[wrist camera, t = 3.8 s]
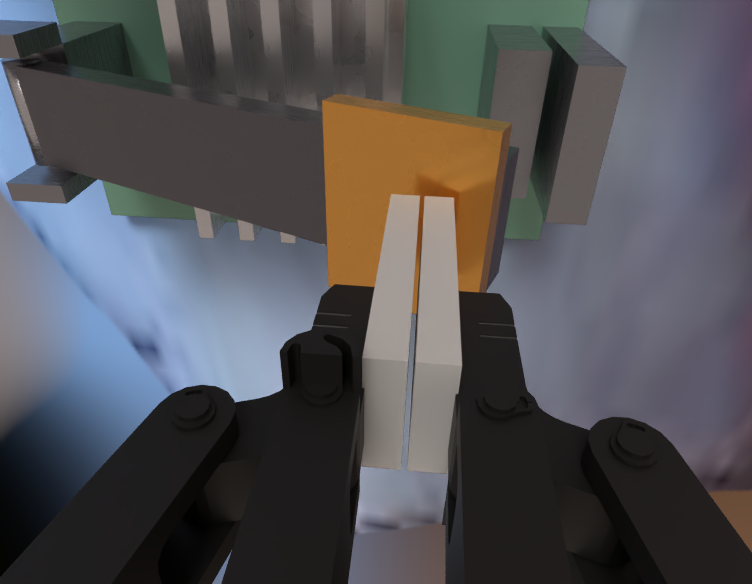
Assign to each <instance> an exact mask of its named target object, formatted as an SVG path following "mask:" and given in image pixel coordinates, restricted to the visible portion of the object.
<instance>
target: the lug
mask: <svg viewBox="0 0 752 584" xmlns="http://www.w3.org/2000/svg"><path fill="white" fill-rule="evenodd" d="M626 68H627V67H626V66H625V65H624V64H622V63H621V62H620V61H619V60H618V59H616V58H615V57H614V56H613V55H611V54H610V53H609V52H608V51H607V50H605V49H604V48H603V47H602V46H601V45H599V44H598V43H597V42H596V41H595V40H593V39H592V38H591V37H590V36H589V35H587V34H586V33H585V32H584V31H583V30H581V29H580V28H579V27H551V26H543V30H542V36H540V35H539V34H538V33H537V31H536V30H535V29H534V28H533V26H523V25H495V24H488V27H487V35H486V44H485V52H484V60H483V69H482V77H481V85H480V93H479V102H478V110H477V117H480V118H486V119H492V120H498V121H503V122H509V123H512V130H511V136H510V142H509V146H513V147H518V148H519V153H518V159H517V165H516V171H515V177H514V183H513V189H512V195H511V198H522V199H526V194H527V188H528V183H529V178H530V180H531V183H532V186H533V188H534V191H535V194H536V197H537V200H538V203H539V206H540V209H541V212H542V215H543V217H544V220H545V223H560V224H577V225H586V223H587V219H588V215H589V211H590V207H591V203H592V199H593V196H594V192H595V188H596V184H597V180H598V176H599V172H600V169H601V165H602V161H603V157H604V153H605V149H606V145H607V142H608V138H609V134H610V130H611V126H612V122H613V118H614V114H615V111H616V107H617V103H618V99H619V95H620V91H621V87H622V84H623V80H624V76H625V72H626Z"/></svg>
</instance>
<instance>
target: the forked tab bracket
mask: <svg viewBox="0 0 752 584" xmlns="http://www.w3.org/2000/svg"><path fill="white" fill-rule="evenodd" d="M29 55H36V56H40V57H41V60H45V61H50V62H56V63H61V64H67V65H72V66H78V67H83V68H89V69H94V70H99V71H105V72H110V73H116V74H121V75H127V76H132V77H133V72H132V68H131V63H130V59H129V54H128V49H127V45H126V40H125V36H124V31H123V26H122V23H117V22H90V21H72V22H69V23H65V24H62V25H59V26H57V23H56V22H37V21H10V20H0V58H13V59H21V58H24V57H27V56H29ZM96 180H97V179H96V178H92V177H89V176H85V175H82V174H78V173H75V172H71V171H68V170H64V169H61V168H57V167H54V166H39V165H37V164H35V165H34V166H32V167H31V168H29V169H27V170H26V171H24V172H23V173H21V174H20V175H18V176H16V177H15V178H13V179H12V180H10V181H8V182H7V183H6V184H7V186H8V189H9V192H10V194H11V197H12V200H14V201H31V202H48V203H65V204H67V203H68V202H69V201H71V200H72V199H73V198H74V197H76V196H77V195H78V194H80V193H81V192H82V191H83V190H85V189H86V188H87V187H88V186H90V185H91V184H92V183H93V182H95V181H96Z"/></svg>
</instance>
